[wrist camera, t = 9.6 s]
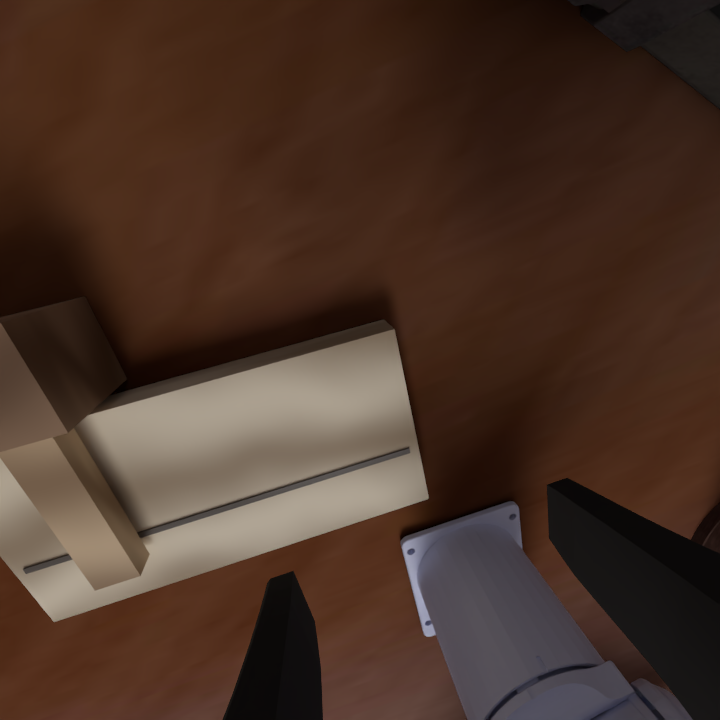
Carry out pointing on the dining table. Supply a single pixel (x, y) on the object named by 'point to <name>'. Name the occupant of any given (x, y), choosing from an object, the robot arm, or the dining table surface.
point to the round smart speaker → (709, 531)
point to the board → (234, 464)
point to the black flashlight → (666, 35)
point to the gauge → (64, 434)
